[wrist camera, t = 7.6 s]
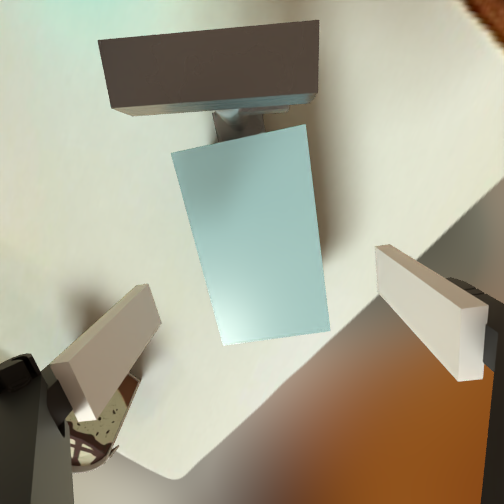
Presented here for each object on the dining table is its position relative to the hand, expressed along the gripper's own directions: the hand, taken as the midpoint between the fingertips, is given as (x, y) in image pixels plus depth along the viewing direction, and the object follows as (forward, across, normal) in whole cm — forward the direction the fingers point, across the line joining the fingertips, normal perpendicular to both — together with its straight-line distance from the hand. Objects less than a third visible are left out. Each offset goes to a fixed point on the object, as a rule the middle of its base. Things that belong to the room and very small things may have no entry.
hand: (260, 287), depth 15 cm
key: (+12, 0, +11) cm, 16 cm away
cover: (+9, 0, 0) cm, 9 cm away
